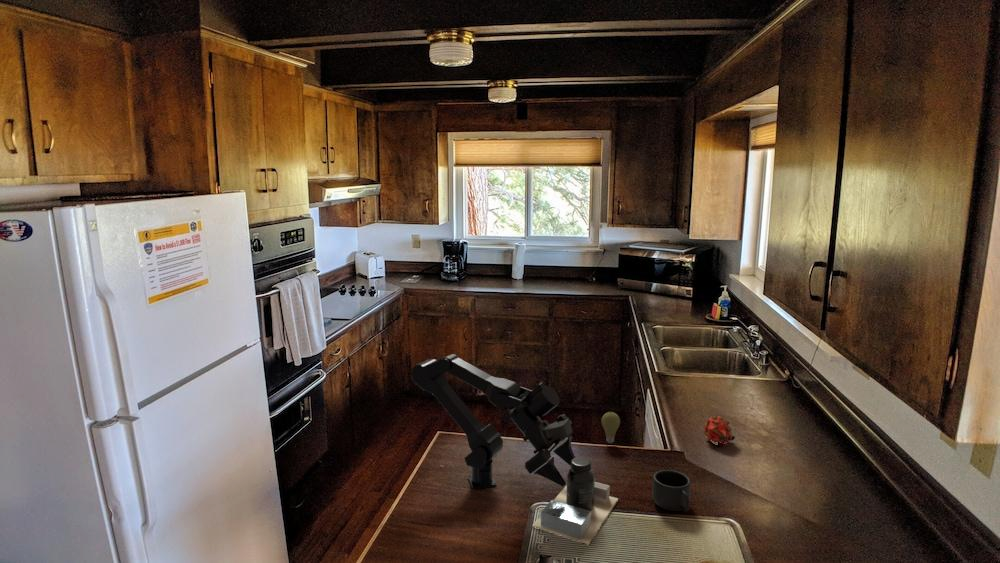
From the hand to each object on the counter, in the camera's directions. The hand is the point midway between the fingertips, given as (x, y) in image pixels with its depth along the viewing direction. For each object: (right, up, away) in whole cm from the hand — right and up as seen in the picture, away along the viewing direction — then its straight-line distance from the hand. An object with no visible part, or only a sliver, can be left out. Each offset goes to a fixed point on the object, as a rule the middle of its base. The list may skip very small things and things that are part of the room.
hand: (571, 476), depth 141 cm
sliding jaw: (-2, -9, -8) cm, 12 cm away
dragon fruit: (+50, -2, +36) cm, 62 cm away
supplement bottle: (+2, -8, 0) cm, 8 cm away
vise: (+1, -8, -2) cm, 9 cm away
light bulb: (+17, -2, +36) cm, 40 cm away
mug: (+26, -8, +1) cm, 27 cm away
